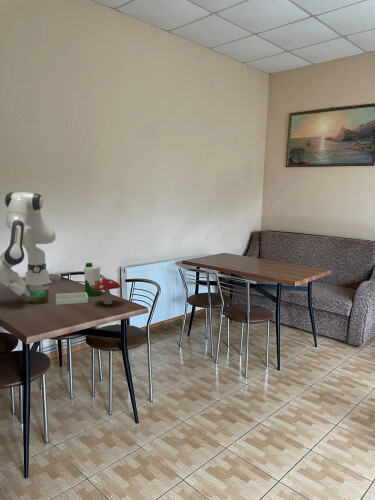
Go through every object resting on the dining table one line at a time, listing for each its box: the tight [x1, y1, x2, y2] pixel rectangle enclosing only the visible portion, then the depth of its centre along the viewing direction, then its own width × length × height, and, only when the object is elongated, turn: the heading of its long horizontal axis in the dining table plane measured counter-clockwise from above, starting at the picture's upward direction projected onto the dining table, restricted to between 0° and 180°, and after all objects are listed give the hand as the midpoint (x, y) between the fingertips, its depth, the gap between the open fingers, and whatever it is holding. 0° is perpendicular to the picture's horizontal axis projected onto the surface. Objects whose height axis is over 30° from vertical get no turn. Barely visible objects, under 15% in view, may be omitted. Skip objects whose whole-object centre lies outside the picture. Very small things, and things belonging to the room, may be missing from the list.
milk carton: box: [83, 262, 101, 297], centre depth 241 cm, size 9×9×20 cm
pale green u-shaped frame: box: [55, 291, 89, 306], centre depth 228 cm, size 13×18×3 cm
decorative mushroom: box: [92, 277, 121, 305], centre depth 222 cm, size 16×16×15 cm
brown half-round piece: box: [28, 284, 51, 305], centre depth 222 cm, size 12×6×10 cm, turn 82°
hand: (29, 294), depth 220 cm, fingers closed
